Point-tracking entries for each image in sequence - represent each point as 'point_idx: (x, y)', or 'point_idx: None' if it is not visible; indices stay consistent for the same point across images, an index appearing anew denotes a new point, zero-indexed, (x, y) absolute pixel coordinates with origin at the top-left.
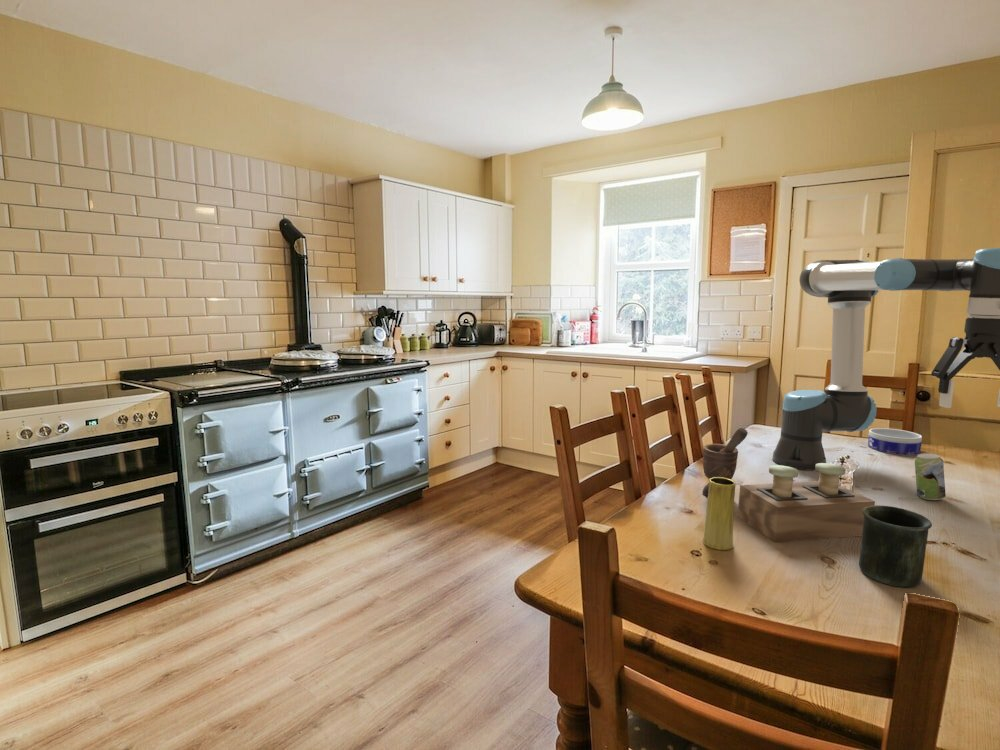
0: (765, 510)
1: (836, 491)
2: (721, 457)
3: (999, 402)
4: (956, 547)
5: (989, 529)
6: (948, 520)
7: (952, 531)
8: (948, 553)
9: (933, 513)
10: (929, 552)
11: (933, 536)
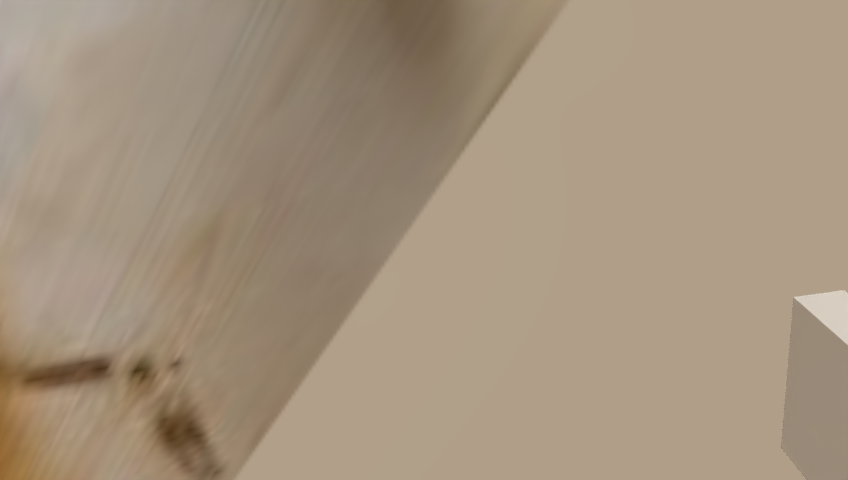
0: None
1: None
2: None
3: (828, 369)
4: (168, 398)
5: (424, 195)
6: (297, 114)
7: (240, 246)
8: (110, 451)
9: (273, 25)
10: (42, 456)
11: (128, 313)
